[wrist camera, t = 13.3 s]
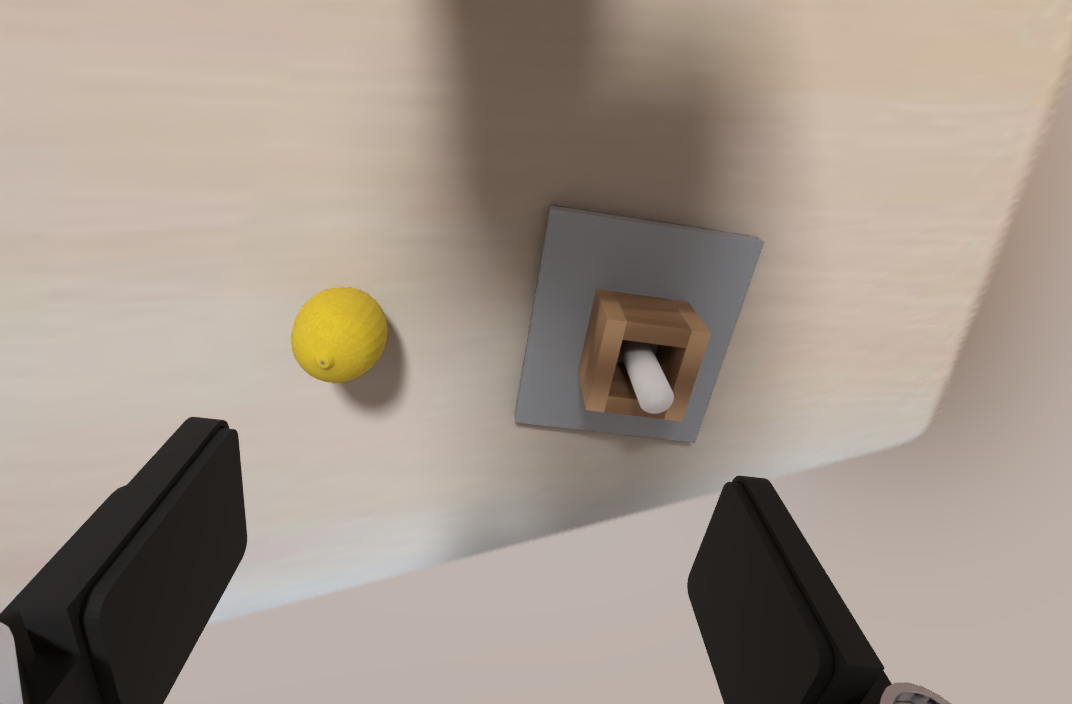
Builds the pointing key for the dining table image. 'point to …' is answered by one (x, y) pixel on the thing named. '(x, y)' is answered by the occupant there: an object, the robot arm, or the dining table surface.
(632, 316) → the brown wooden hollow block
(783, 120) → the dining table surface
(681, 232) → the grey peg board
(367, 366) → the lemon
